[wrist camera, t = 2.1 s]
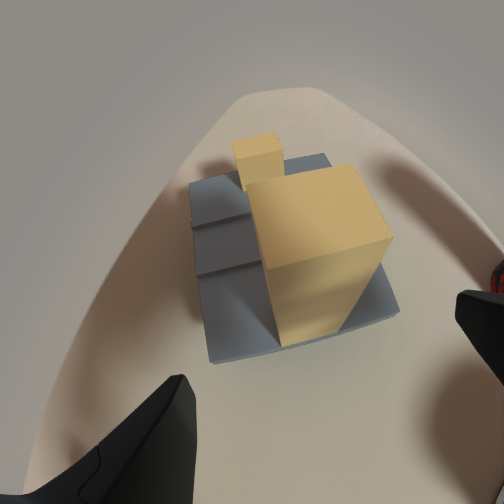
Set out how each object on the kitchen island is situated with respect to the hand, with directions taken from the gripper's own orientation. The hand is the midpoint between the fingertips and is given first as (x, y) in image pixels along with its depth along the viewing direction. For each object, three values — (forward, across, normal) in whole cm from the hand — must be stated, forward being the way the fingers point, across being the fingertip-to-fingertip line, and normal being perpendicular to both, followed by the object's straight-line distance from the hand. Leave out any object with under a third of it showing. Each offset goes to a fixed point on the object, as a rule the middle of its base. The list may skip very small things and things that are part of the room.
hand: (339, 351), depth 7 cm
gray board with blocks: (+11, 0, -1) cm, 11 cm away
